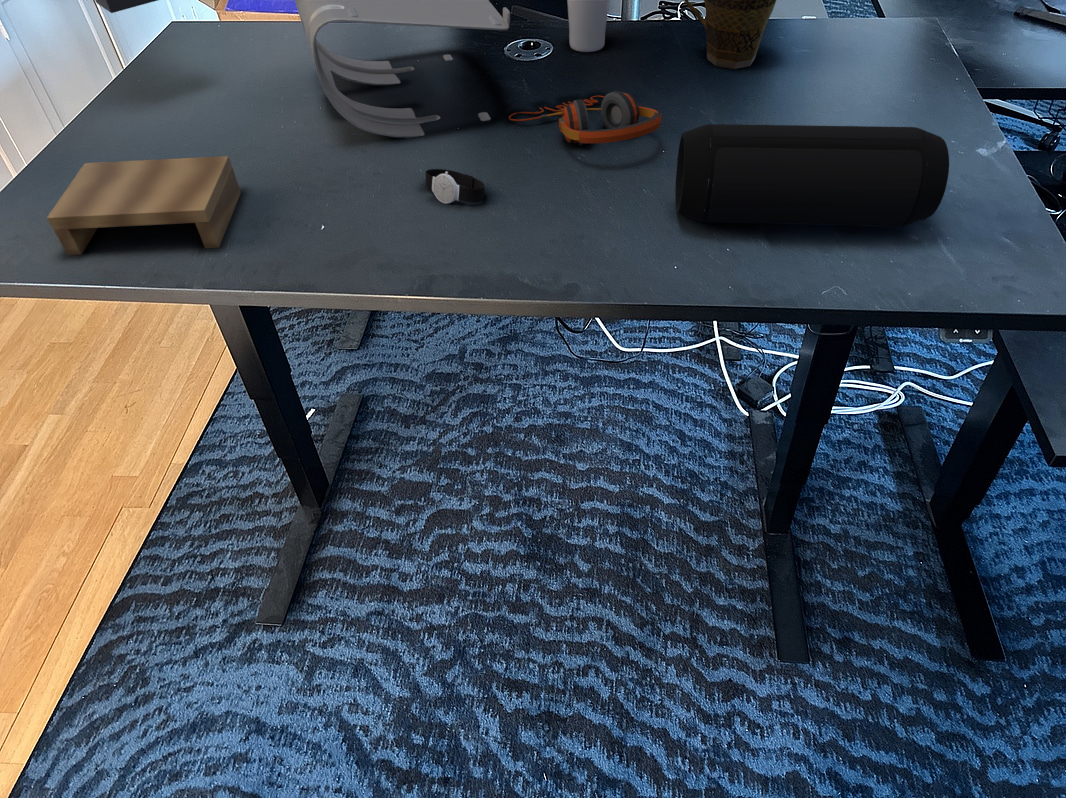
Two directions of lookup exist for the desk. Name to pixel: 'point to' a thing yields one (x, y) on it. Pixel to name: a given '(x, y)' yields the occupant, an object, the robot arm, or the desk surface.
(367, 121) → the laptop stand
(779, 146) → the portable speaker
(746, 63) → the ceramic cup
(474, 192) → the watch
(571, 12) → the white tapered cylinder
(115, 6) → the shoe
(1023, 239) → the desk surface
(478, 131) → the desk surface
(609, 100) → the headphones
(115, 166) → the display stand
